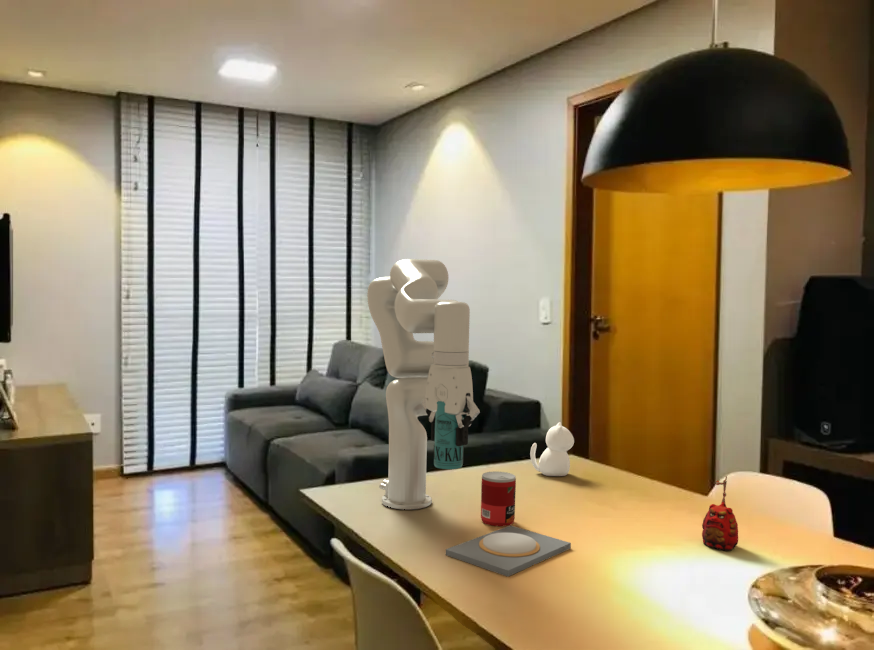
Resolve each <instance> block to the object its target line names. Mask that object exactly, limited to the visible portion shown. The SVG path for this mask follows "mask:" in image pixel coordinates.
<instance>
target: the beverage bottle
mask: <svg viewBox="0 0 874 650" xmlns="http://www.w3.org/2000/svg"><path fill="white" fill-rule="evenodd" d="M462 419H464V418H463V416H462ZM434 422H435V432H434V433H435V435H434V436H435V440H434V441H433V442H434V443H433V454H432V455H433V460H432V461H433V465H434V467H435V468H437V469H442V470H457V469H460V468H462V467H463V464H464V452H465V451H464V447H465V445H463V446H456V427H459V426H458V423H457V419H456V416H455V415H451V414H447V413H445V403H444V401H443V402H442V401H438V402H437V411H436V417H435V421H434Z"/></svg>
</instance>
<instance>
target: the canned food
mask: <svg viewBox="0 0 874 650" xmlns="http://www.w3.org/2000/svg"><path fill="white" fill-rule="evenodd" d="M516 480H517V477H516V475H515V474H514V473H510V472H506V471H499V470H498V471H497V470H496V471H493V470H492V471H487V472H483V473H482V474H481V492H480V494H481V495H480V518H481V519H480V520H481V522H482V523H483V524H485V525H488V526H492V527H507V526H510V525H511V526H512V525H513V524H514V522H515V520H516V519H515V517H516V514H515V512H516V487H517V482H516Z"/></svg>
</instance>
